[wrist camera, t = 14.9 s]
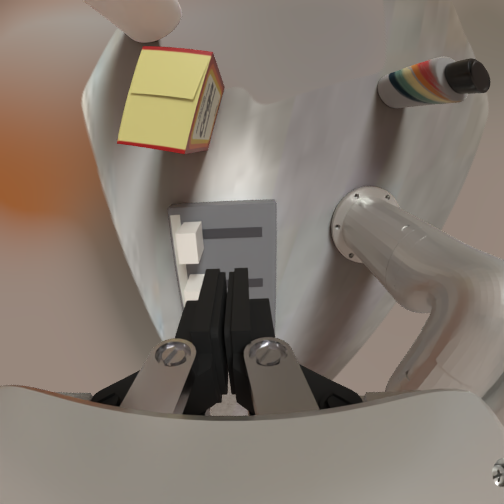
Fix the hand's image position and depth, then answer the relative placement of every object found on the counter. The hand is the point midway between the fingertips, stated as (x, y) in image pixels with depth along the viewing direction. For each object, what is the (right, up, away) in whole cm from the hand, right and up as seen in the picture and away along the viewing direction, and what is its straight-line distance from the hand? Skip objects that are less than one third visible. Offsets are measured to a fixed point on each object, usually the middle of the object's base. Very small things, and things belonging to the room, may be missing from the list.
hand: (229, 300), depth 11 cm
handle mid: (-7, -3, +29) cm, 30 cm away
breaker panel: (-3, -2, +32) cm, 32 cm away
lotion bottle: (+23, +27, +21) cm, 41 cm away
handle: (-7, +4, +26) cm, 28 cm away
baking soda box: (-7, +21, +23) cm, 32 cm away
